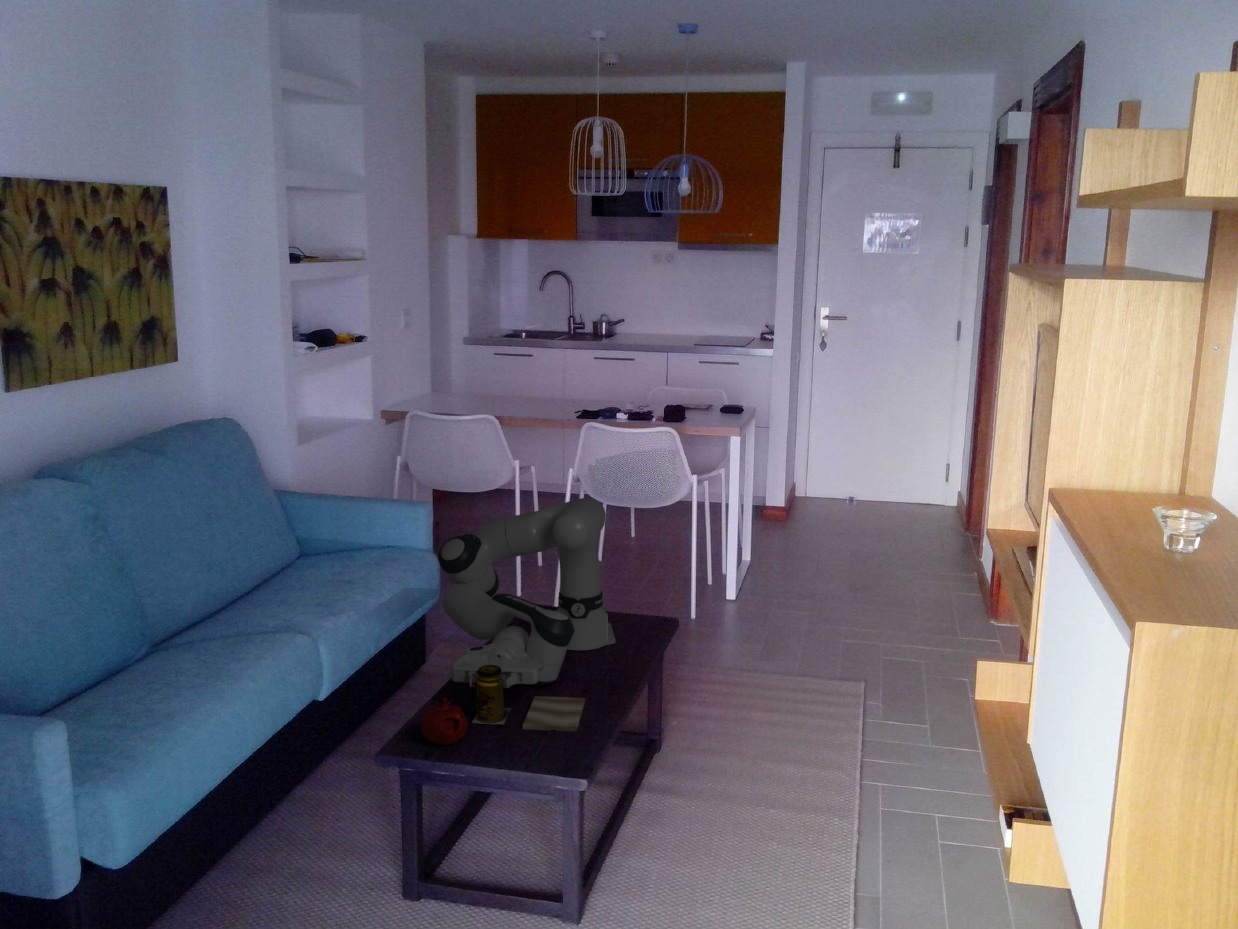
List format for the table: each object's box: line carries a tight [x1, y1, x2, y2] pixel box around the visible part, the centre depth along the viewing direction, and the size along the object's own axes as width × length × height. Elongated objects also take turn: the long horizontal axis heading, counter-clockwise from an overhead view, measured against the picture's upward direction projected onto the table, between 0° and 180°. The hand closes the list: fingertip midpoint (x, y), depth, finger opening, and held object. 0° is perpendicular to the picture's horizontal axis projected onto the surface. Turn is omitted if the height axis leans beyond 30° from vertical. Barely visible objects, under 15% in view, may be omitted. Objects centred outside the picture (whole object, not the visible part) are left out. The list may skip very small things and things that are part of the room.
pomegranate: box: [420, 697, 468, 746], centre depth 227 cm, size 10×10×9 cm
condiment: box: [471, 665, 512, 726], centre depth 237 cm, size 7×8×12 cm
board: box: [522, 695, 586, 732], centre depth 239 cm, size 16×12×1 cm
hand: (488, 684), depth 235 cm, fingers closed on condiment, 6 cm apart
